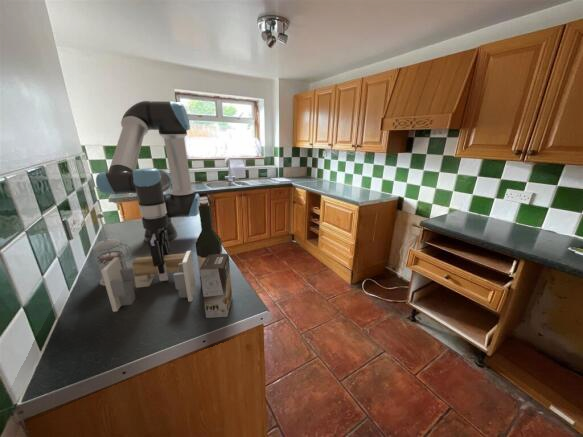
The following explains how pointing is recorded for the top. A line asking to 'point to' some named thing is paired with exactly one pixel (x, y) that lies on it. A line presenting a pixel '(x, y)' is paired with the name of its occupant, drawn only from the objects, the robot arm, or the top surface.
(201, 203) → the wine bottle
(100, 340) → the top surface
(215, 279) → the coffee box
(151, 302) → the top surface
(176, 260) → the rail
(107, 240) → the french press
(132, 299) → the brackets
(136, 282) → the spacers
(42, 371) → the top surface
